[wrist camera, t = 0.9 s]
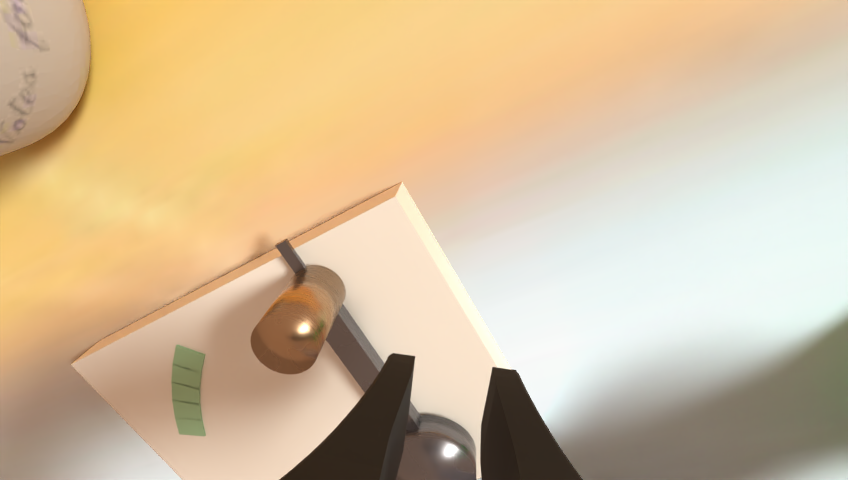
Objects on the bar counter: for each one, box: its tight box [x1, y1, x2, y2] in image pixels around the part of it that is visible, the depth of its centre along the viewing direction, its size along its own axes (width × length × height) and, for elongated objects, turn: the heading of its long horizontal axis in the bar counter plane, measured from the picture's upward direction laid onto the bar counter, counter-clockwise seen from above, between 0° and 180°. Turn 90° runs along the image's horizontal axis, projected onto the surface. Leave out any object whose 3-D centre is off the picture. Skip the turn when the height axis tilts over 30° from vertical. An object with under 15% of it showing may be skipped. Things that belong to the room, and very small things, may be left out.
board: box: [71, 182, 512, 480], centre depth 24 cm, size 15×19×2 cm
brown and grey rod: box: [250, 239, 476, 480], centre depth 20 cm, size 15×4×4 cm, turn 29°
